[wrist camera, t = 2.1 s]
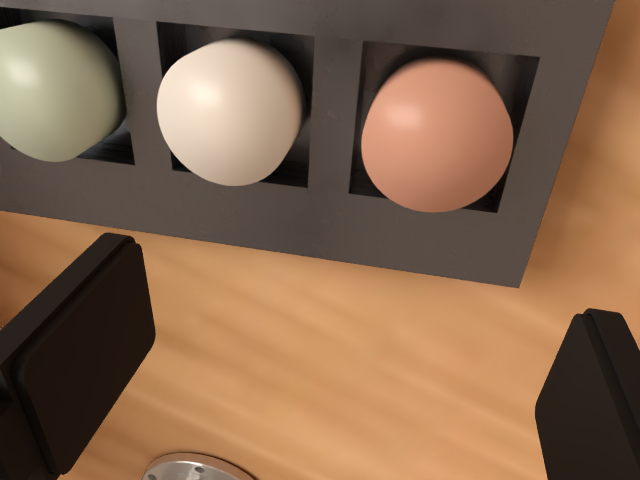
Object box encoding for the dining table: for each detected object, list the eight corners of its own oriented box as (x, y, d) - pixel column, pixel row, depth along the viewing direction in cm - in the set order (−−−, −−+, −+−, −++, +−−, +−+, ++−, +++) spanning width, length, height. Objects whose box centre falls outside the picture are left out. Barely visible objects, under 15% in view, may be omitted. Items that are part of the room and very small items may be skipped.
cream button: (303, 167, 25) (289, 193, 23) (190, 153, 26) (164, 177, 23) (308, 42, 22) (292, 56, 20) (179, 30, 23) (148, 42, 20)
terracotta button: (486, 191, 24) (492, 221, 22) (362, 175, 25) (354, 202, 22) (519, 62, 21) (531, 79, 18) (376, 48, 22) (369, 64, 19)
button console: (508, 246, 29) (518, 288, 25) (43, 181, 32) (-1, 210, 29) (601, -61, 21) (634, -59, 17) (-31, -101, 24) (-104, -106, 21)
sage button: (136, 146, 26) (105, 169, 24) (32, 133, 27) (-8, 153, 25) (118, 24, 23) (80, 35, 21) (1, 13, 24) (-49, 22, 21)
